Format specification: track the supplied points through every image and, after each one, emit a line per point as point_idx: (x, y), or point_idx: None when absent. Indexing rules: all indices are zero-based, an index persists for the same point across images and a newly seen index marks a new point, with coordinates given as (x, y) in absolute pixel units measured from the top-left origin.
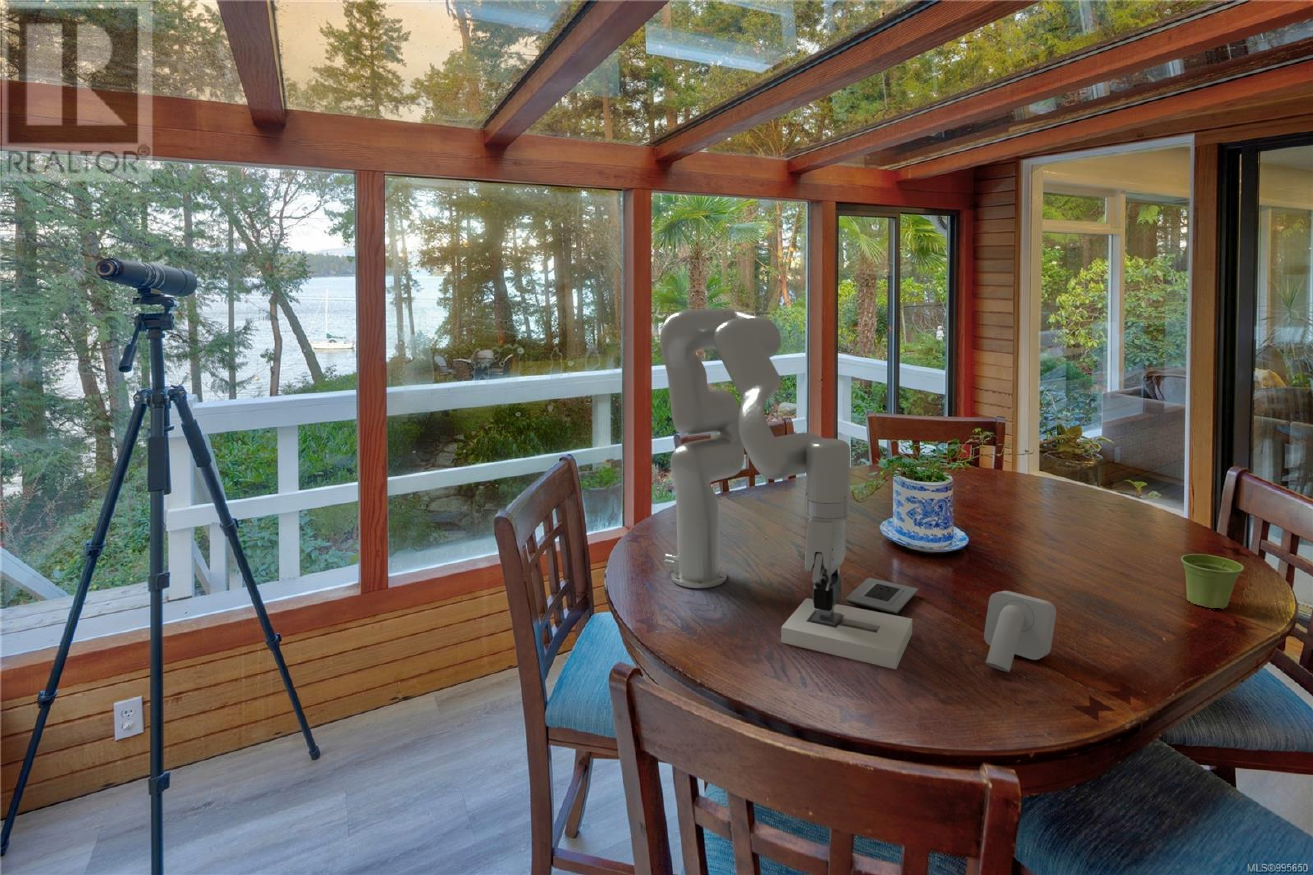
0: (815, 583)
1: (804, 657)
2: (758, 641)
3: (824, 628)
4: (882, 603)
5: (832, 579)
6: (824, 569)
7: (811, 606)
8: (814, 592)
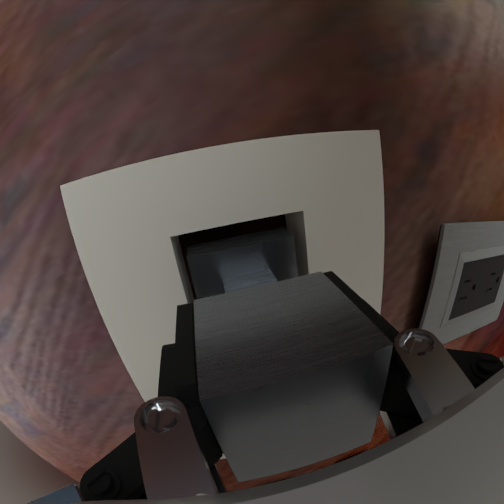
0: (75, 487)
1: (65, 284)
2: (50, 117)
3: (166, 321)
4: (442, 312)
5: (316, 446)
6: (414, 395)
7: (321, 182)
8: (174, 364)
